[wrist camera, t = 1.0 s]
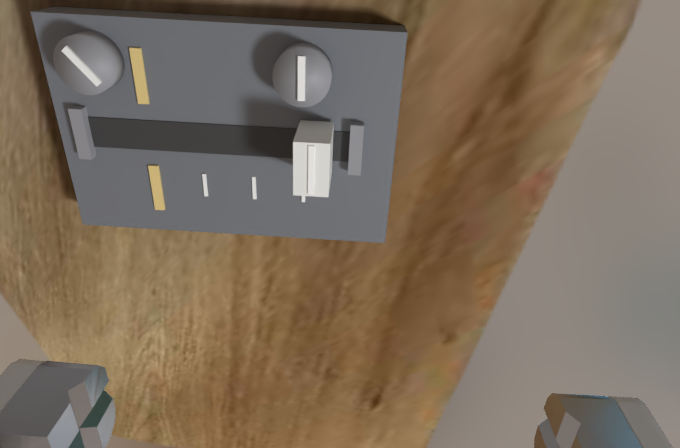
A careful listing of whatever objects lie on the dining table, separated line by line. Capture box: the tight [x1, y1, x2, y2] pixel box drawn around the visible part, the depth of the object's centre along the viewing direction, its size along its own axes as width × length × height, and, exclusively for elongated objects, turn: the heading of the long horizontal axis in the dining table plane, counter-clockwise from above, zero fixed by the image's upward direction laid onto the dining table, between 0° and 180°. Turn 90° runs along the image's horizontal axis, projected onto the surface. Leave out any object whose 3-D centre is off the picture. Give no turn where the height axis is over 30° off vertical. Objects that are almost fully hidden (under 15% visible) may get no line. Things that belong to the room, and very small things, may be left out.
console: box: [31, 6, 407, 243], centre depth 39 cm, size 17×26×5 cm, turn 87°
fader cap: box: [293, 120, 334, 197], centre depth 36 cm, size 4×2×5 cm, turn 177°
